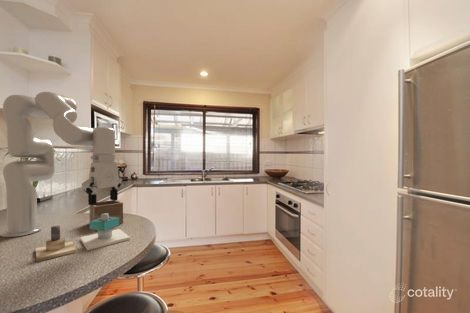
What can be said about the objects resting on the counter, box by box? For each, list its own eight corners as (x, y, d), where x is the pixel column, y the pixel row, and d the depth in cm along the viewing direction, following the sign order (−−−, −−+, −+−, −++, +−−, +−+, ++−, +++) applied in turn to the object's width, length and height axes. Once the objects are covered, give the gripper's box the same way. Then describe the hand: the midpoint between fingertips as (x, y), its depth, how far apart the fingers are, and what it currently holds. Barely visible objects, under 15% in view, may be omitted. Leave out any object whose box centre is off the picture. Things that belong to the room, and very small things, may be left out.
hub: (80, 239, 86) (80, 214, 86) (119, 231, 95) (119, 208, 95) (87, 250, 75) (86, 221, 75) (129, 239, 85) (129, 213, 85)
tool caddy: (89, 223, 108) (89, 203, 108) (116, 218, 116) (116, 199, 116) (94, 228, 99) (94, 206, 99) (123, 222, 107) (122, 202, 107)
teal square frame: (89, 229, 83) (89, 221, 83) (105, 223, 90) (105, 216, 90) (104, 230, 81) (104, 222, 81) (119, 224, 88) (119, 217, 88)
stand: (35, 250, 76) (35, 226, 76) (71, 242, 83) (71, 220, 83) (36, 262, 67) (36, 234, 67) (76, 252, 74) (75, 227, 74)
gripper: (91, 159, 76) (90, 207, 76) (128, 158, 93) (128, 198, 93) (75, 159, 78) (74, 206, 78) (114, 158, 95) (114, 197, 95)
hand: (103, 202), depth 85 cm, fingers open, 9 cm apart
